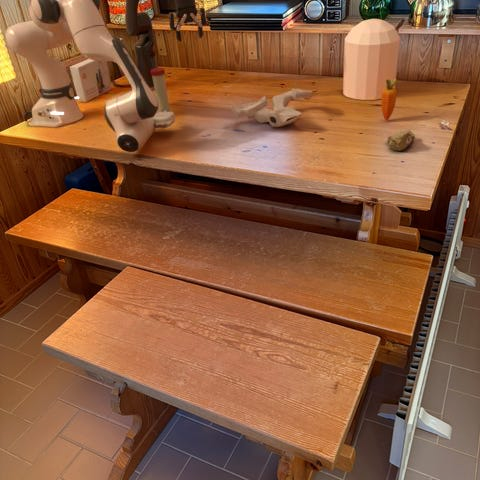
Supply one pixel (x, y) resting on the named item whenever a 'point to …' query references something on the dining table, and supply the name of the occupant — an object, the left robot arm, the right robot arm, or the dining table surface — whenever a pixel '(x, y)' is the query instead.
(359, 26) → the container
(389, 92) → the carrot
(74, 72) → the skincare box
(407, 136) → the rock
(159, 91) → the jar
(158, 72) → the lid
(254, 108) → the animal horns
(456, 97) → the dining table surface
